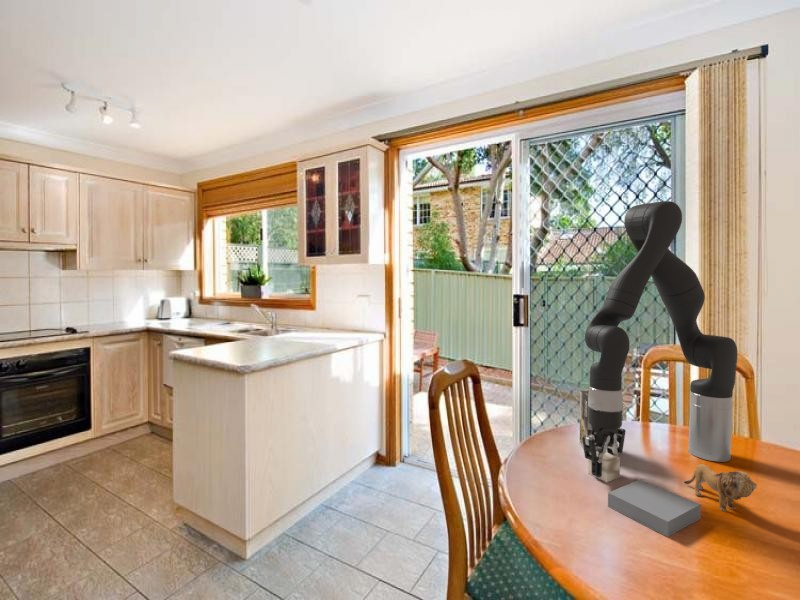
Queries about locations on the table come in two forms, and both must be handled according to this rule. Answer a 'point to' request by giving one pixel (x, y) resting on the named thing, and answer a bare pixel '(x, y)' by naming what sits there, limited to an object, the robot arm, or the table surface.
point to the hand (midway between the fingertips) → (603, 472)
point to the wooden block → (608, 467)
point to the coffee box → (584, 417)
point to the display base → (654, 507)
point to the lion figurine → (723, 484)
